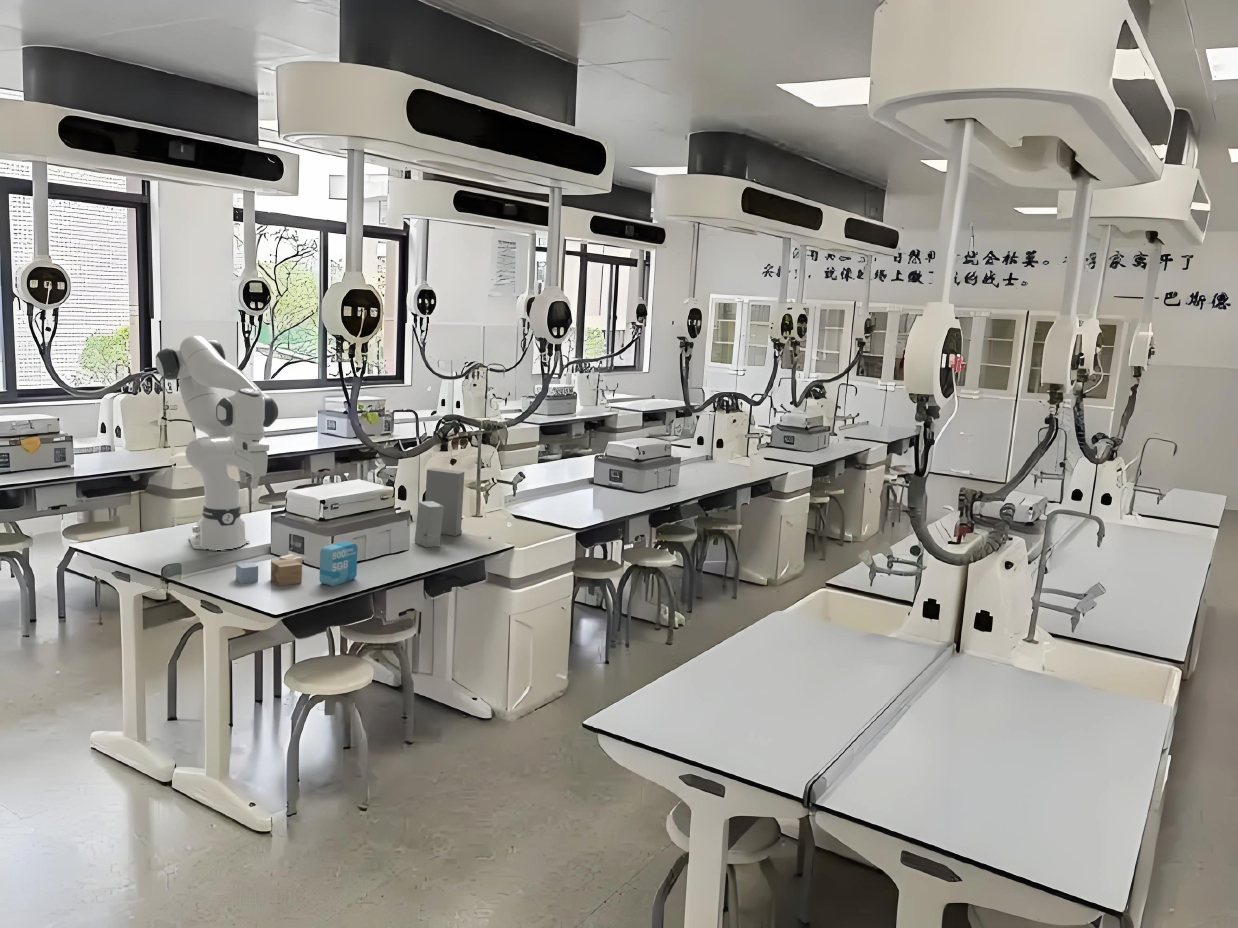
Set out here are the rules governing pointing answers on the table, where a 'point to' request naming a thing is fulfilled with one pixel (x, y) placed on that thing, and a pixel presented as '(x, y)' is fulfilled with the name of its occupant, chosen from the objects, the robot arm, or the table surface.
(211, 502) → the robot arm
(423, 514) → the skincare box
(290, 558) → the sand block
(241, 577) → the slate-blue block
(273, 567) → the cardboard box
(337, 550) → the data package
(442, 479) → the tall grey upright box
